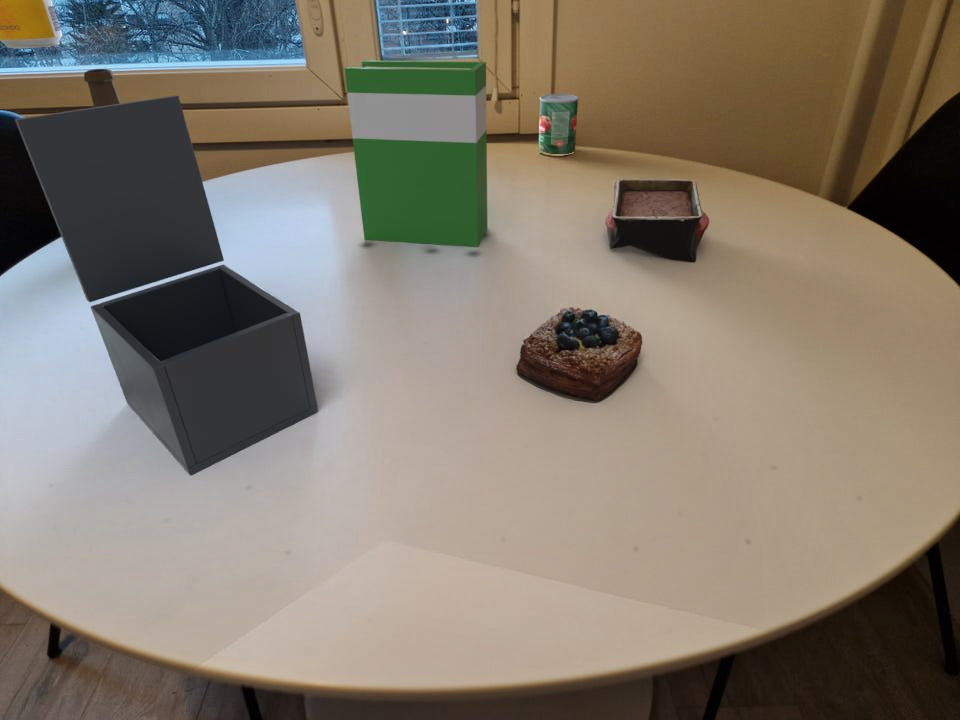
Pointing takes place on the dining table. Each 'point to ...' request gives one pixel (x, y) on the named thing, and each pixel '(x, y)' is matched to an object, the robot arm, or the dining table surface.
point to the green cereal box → (420, 150)
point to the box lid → (123, 192)
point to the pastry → (580, 355)
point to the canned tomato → (558, 123)
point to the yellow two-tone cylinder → (28, 24)
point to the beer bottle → (102, 87)
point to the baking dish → (657, 217)
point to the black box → (209, 363)
